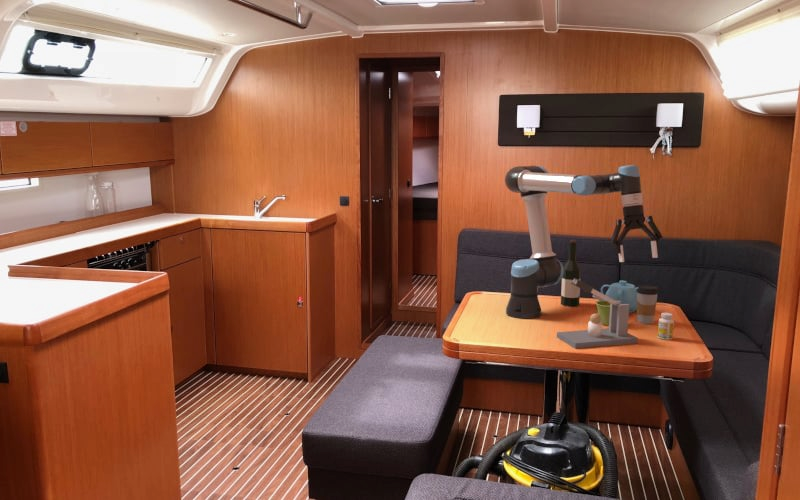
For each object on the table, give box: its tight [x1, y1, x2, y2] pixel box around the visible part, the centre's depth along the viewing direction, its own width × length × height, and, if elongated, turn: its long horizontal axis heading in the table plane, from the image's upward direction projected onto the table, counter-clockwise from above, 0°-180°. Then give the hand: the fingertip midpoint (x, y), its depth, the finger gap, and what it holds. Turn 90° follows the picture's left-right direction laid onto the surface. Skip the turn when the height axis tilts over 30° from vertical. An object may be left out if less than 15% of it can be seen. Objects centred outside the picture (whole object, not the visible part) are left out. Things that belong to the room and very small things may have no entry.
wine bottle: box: [560, 239, 582, 308], centre depth 294 cm, size 8×8×30 cm
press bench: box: [556, 301, 639, 349], centre depth 242 cm, size 14×26×14 cm, turn 104°
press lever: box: [571, 278, 621, 307], centre depth 240 cm, size 4×23×3 cm, turn 104°
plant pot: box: [595, 300, 610, 327], centre depth 265 cm, size 9×9×9 cm
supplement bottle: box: [657, 312, 675, 341], centre depth 246 cm, size 5×5×10 cm
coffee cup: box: [636, 284, 659, 325], centre depth 267 cm, size 8×8×15 cm
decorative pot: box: [598, 279, 638, 315], centre depth 285 cm, size 16×16×14 cm
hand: (638, 259), depth 248 cm, fingers open, 13 cm apart
